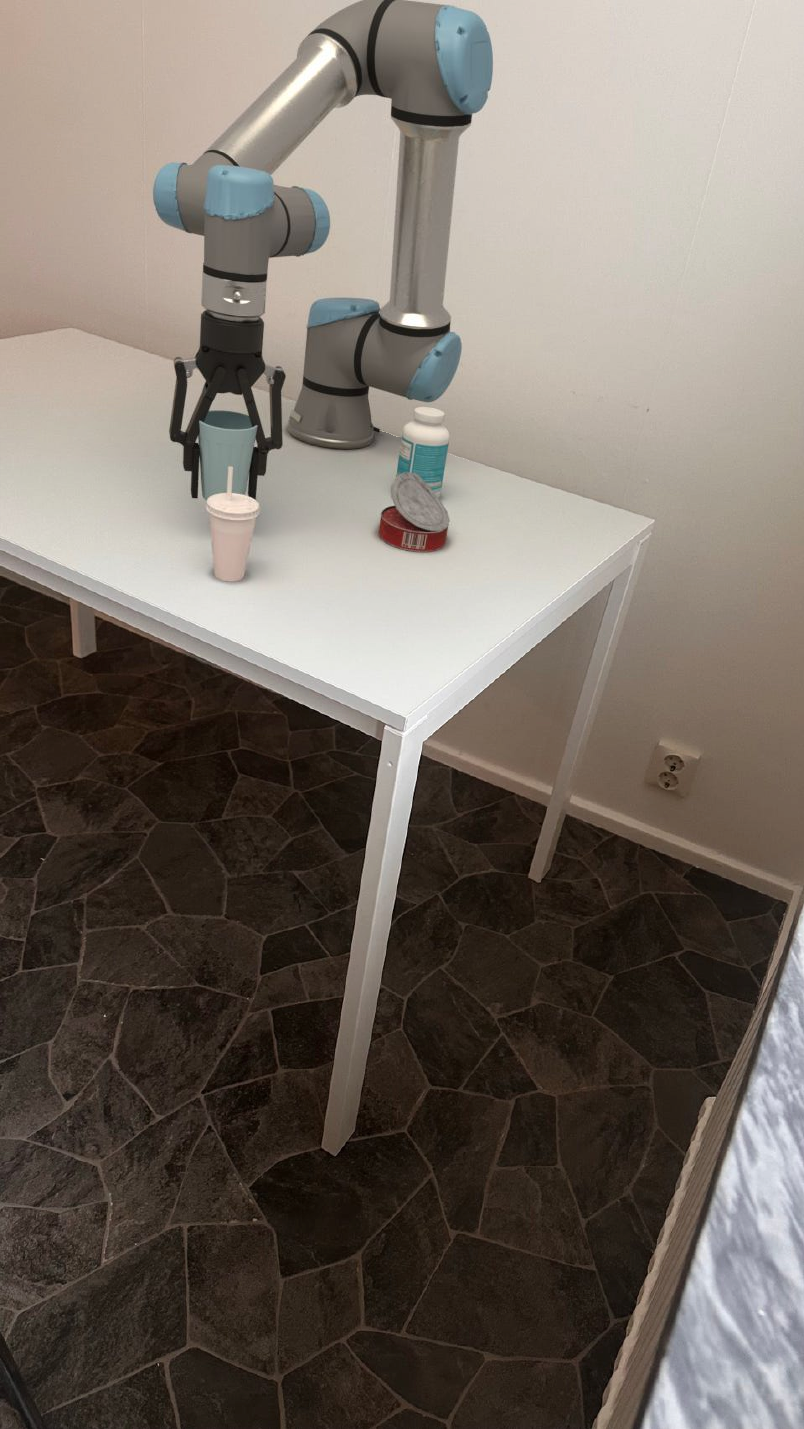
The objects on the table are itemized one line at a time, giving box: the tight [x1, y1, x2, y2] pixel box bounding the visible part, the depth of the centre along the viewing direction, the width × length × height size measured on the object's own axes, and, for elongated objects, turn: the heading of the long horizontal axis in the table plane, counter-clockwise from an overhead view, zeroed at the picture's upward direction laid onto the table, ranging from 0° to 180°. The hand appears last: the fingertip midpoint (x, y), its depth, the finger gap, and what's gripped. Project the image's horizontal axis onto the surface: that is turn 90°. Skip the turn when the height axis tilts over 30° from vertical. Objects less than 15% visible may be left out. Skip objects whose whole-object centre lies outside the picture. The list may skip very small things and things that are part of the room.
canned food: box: [377, 471, 451, 553], centre depth 142 cm, size 11×10×10 cm
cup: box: [197, 409, 257, 501], centre depth 128 cm, size 8×8×10 cm
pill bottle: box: [395, 406, 451, 499], centre depth 155 cm, size 8×7×14 cm
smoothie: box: [205, 467, 260, 583], centre depth 121 cm, size 6×6×14 cm
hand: (223, 496), depth 131 cm, fingers closed on cup, 7 cm apart
